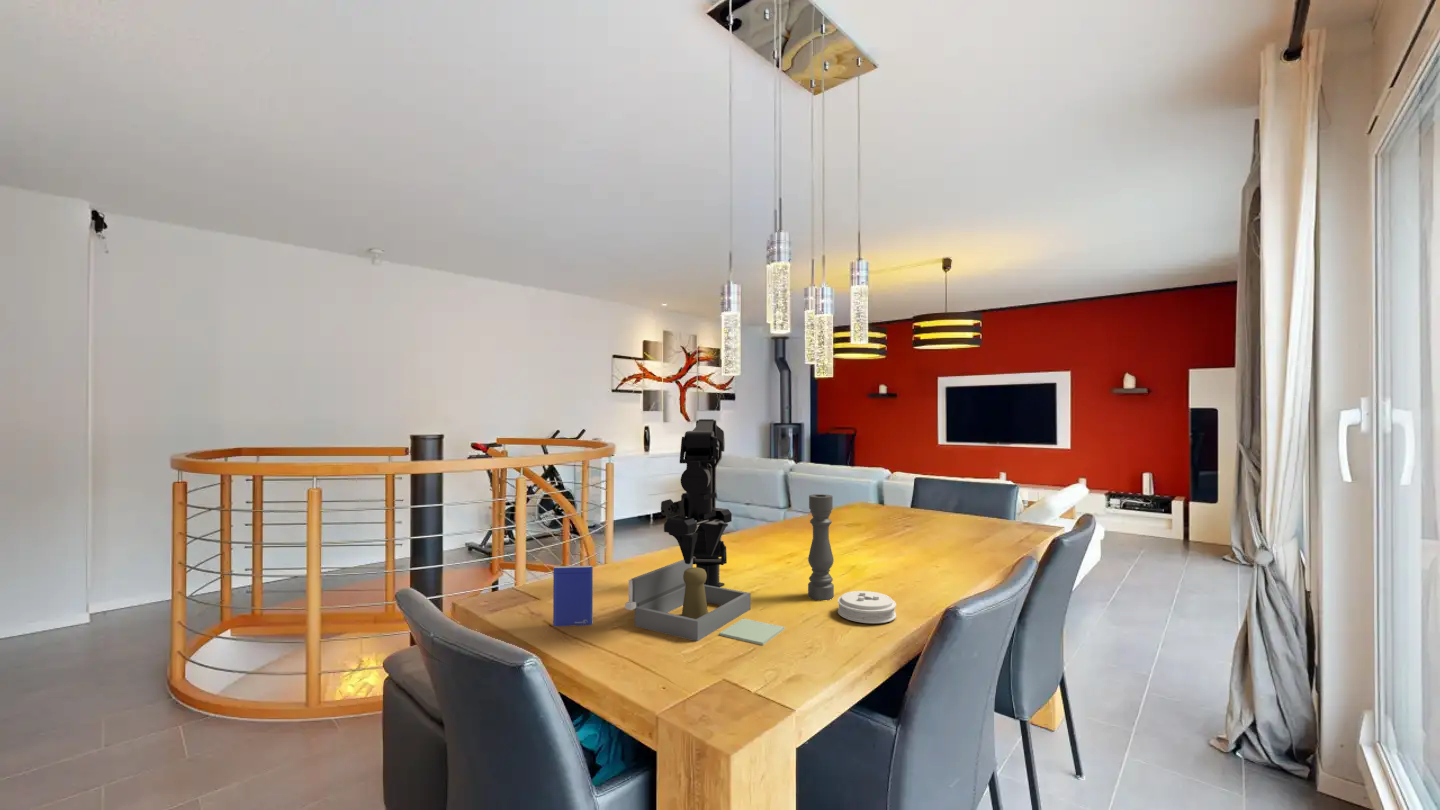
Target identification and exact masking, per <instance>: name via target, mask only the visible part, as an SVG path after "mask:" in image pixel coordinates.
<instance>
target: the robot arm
mask: <svg viewBox="0 0 1440 810" xmlns="http://www.w3.org/2000/svg"><path fill="white" fill-rule="evenodd" d="M725 439H726V438H725V432H724V430H723V429H721V427H719V426H718V424H717V420H716V419H713V418H712V419H711V418H710V419H709V418H707V419H705V418H704V419H703V418H701V419H700V418H699V419H696V421H695V427H694V428H693V430H687V431H685V432H684V436H681V442H680V453H679V464H686V468H685V470H684V471H683V472H682V474H681V476H680V485H681V487H682V489H683V490H684V491H685V492H683V493H681V497H680V500H678V501H675V502H674V501H673V500H672V499H671V498H670V499H665V500H662V501H661V503H660V514H662V516H664V517H665V519H666V520H664V522H663V532H664V533H668V535H669V536H671V537H672V536H673V538H674V539H676V541H677V543H678V546H679V548H680V551H681V554H682V557H683V559H684V561H685V563H686V564H690V563H691V560H692V558H693V565H695V567H698V568H702V569H704V570H705V571H706V574H707V578H706V582H705V583H704V585H709V586H715V587H720V588H723V587H724V586H725V582H720V565H721V566H724V565H725V564H727V563H728V562H727V561H728V560H727V559H728V557H727V556H728V555H727V546H726V545H725V544H724V543H725V541H724V540H722V536H723V534H724V531H725V530H726V528H727V527H728V525H729V523H731V522H732V512H731V511H730V509H729V508H722V507H721V508H719V507H717V467H718V465H719V463H720V461H721V460H722V458H723V452H724V453H725V446H726V445H725V444H726V443H725Z"/></svg>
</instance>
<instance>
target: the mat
mask: <svg viewBox="0 0 1440 810" xmlns="http://www.w3.org/2000/svg"><path fill="white" fill-rule="evenodd" d="M785 629H786V627H785V626H782V625H776V624H772V623H767V622H762V621H757V620H753V619H749V618H741V619H740V620H738V621H737V622H735V623H733V624H732V625H729V626H728V627H726V628H724V629H723V630H722V631H720V632H718V633H719V634H718V635H719V636H722V637H725V638H726V637H727V638H730V639H735V640H738V641H742V642H747V643H750V644H756V645H759V646H764V645H765V644H767V643H769V642H770V641H771V640H772V639H774V638H775V637H776V636H777V635H779V634H781V633H782V632H783V631H784V630H785Z"/></svg>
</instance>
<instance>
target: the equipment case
mask: <svg viewBox="0 0 1440 810" xmlns="http://www.w3.org/2000/svg"><path fill="white" fill-rule="evenodd" d="M693 567H694V564H693V558H692V560H691V563H690V564H686V563H685V561H684V558H683V559H681V560H678V561H676V562H673V563H670V564H668V565H665V566H661V567H659V568H657V569H654V570H651V571H648V572H646V573H642V574H641V575H637V576H635V577H632V578H630V579H628V601H627V602H624V609H625V610H628V611H629V610H630V611H633V610H634V627H637V628H641V629H643V630H649V631H653V632H657V633H661V634H666V635H669V636H674V637H678V638H682V639H686V640H690V641H694V642H699V641H701V640H702V639H705V638H706V637H707V636H709V635H710V634H713V633H714V632H715V631H718V630H719V629H720V628H722V627H724V626H725V625H727V624H729V623H730V622H732V621H734V620H735V619H737V618H739V617H740V616H742V615H744V614H745V613H748V612H749V611H750V610H751V608H752V607H751V604H752V603H751V601H752V600H751V599H752V598H751V592H747V591H743V590H736V589H732V588H726V587H715V586H709V585H704V587H705V594H706V602H707V603H708V604H714V605H719V607H717V608H714V609H713V610H710V611H709V612H708V613H707V614H705V615H703V616H701V617H699V618H698V619H693V618H688V617H684V616H682V615H678V614H673V613H670V612H672V611H674V610H676V609H678V608H680V607H683V602H684V594H685V586H686V583H685V582H684V579H683V574H684V571H685V570H686V569H688V568H693Z"/></svg>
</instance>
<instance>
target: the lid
mask: <svg viewBox="0 0 1440 810" xmlns="http://www.w3.org/2000/svg"><path fill="white" fill-rule="evenodd" d="M837 603H838V609H837V614H838V615H839V616H841V617H842V618H844V619H846V620H848V621H853V622H857V623H863V624H884V623H888V622H889V623H890V622H892V621H893V620H895V619H896V618H897V613H896V608H897V603H896V601H895V600H893V599H892V597H891V596H888V595H887V594H884V593H881V592H878V591H877V592H876V591H870V590H869V591H868V590H854V591H852V590H851V591H848V592H845V593H843V594H842V595H840V596H839V597H838V598H837Z"/></svg>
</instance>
